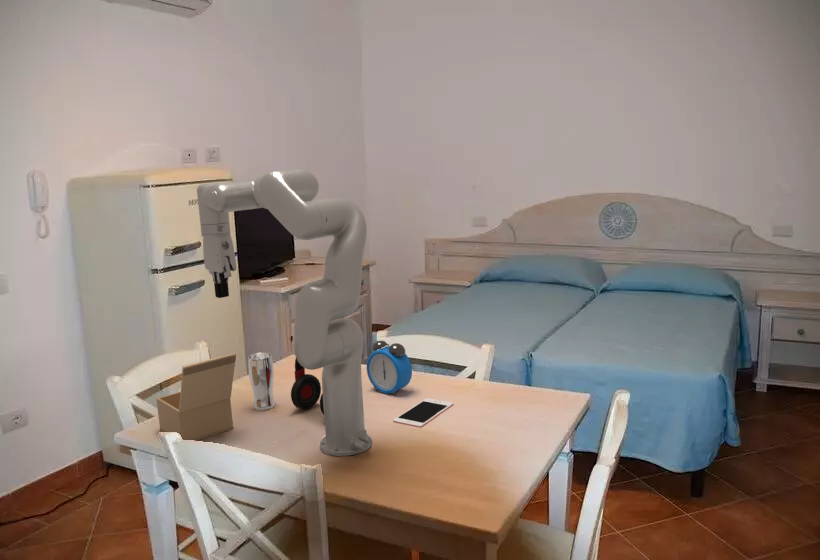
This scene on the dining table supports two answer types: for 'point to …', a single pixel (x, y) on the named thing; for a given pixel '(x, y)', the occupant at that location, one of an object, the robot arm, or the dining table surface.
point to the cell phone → (423, 412)
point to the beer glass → (261, 380)
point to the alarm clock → (389, 367)
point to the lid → (206, 382)
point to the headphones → (305, 389)
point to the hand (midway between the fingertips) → (222, 296)
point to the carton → (194, 418)
